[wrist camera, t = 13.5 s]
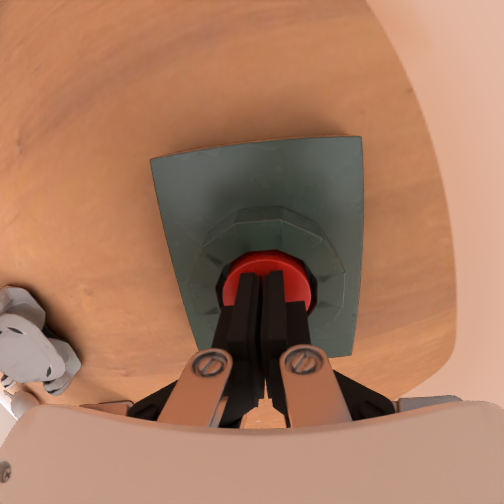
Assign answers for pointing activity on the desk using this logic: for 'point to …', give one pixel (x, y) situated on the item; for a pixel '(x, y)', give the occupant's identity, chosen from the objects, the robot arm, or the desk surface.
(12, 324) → the car model
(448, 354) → the desk surface
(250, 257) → the button
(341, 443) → the robot arm
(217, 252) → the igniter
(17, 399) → the figurine
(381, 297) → the desk surface
